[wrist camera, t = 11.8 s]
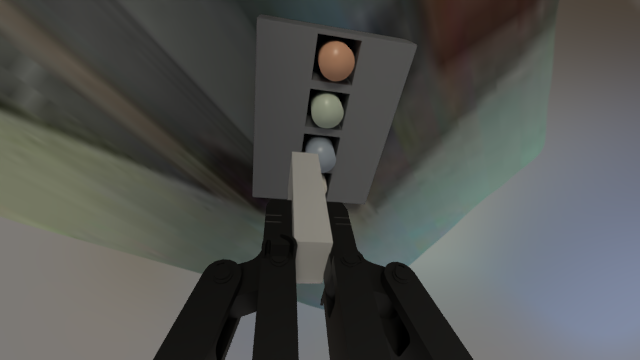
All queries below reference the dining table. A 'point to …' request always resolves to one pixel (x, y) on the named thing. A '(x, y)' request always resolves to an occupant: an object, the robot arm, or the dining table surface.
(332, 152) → the button slate
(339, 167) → the console
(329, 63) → the button terracotta
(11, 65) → the dining table surface
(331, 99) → the button sage
